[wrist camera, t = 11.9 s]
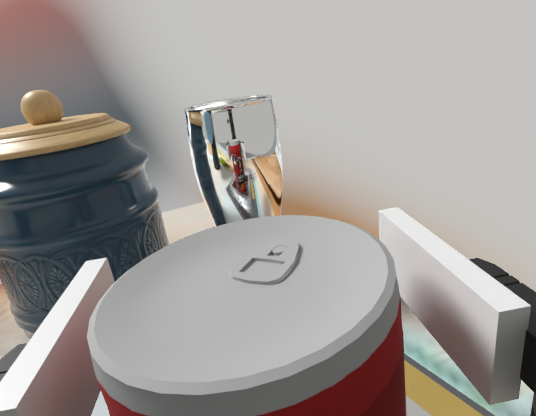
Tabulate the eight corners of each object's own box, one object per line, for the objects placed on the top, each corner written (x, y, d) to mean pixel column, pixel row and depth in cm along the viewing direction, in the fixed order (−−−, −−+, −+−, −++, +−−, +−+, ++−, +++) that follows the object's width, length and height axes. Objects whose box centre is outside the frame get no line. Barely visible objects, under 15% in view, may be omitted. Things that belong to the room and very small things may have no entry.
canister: (201, 260, 37) (159, 74, 31) (132, 355, 25) (43, 85, 19) (89, 262, 40) (31, 93, 34) (-19, 347, 29) (-137, 112, 22)
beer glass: (255, 308, 28) (220, 107, 23) (201, 281, 33) (163, 110, 28) (311, 268, 33) (293, 92, 28) (257, 250, 38) (233, 96, 32)
